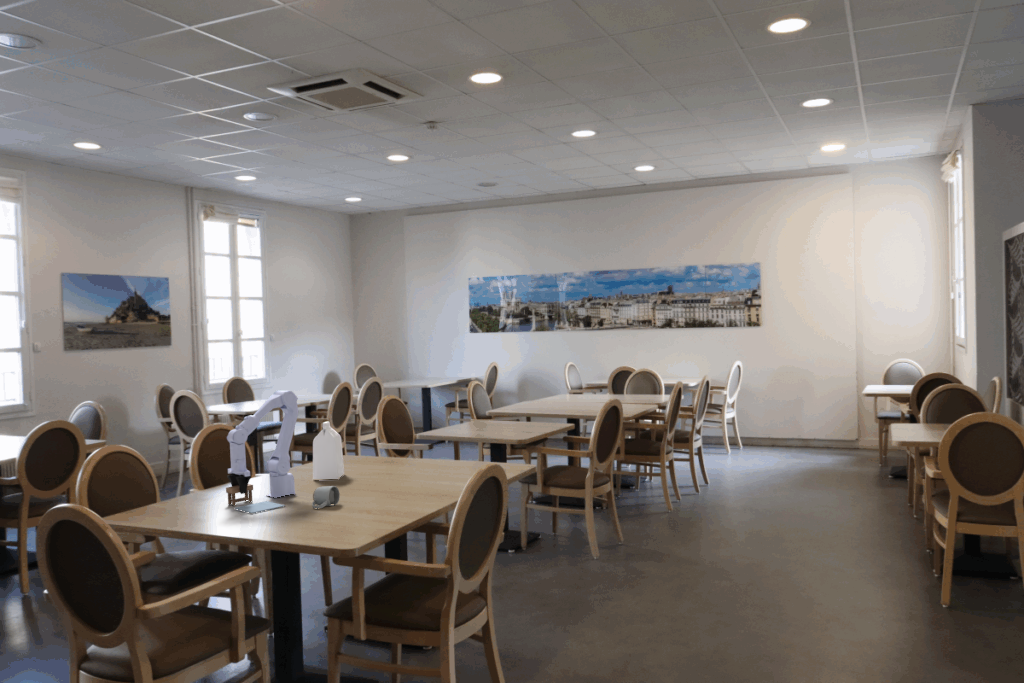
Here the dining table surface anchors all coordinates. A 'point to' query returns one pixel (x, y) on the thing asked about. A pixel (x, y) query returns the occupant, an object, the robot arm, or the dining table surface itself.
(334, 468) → the milk
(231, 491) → the stool
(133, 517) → the dining table surface
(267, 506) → the mat
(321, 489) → the ceramic mug
